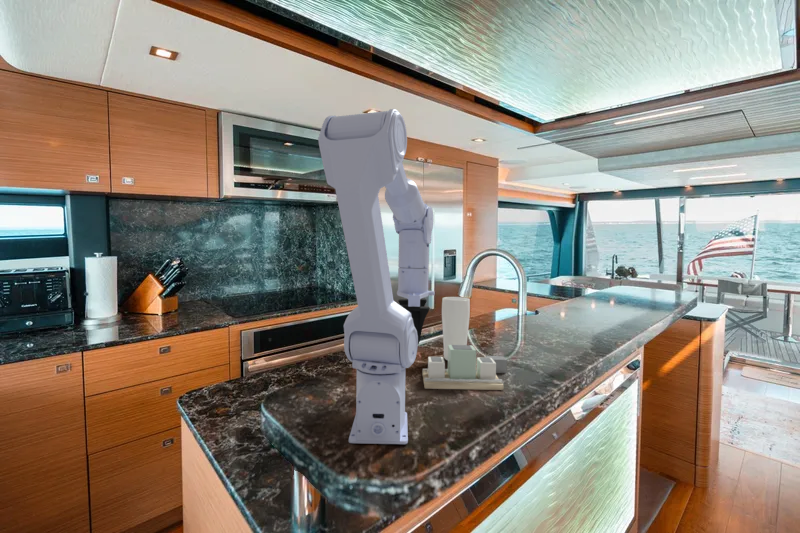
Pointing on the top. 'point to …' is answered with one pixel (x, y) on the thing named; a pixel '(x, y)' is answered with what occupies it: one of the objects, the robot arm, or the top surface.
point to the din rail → (460, 379)
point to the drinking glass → (455, 321)
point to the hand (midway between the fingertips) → (412, 339)
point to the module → (462, 361)
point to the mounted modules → (483, 370)
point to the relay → (499, 363)
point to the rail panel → (461, 384)
